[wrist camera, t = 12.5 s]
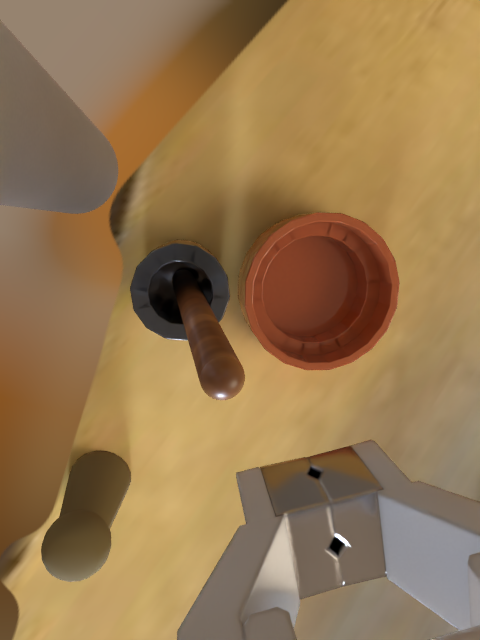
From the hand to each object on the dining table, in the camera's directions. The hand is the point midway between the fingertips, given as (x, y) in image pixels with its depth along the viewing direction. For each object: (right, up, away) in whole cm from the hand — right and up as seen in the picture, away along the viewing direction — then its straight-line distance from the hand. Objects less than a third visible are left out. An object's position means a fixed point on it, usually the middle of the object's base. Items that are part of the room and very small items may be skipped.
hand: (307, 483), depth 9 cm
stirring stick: (-7, +7, +29) cm, 31 cm away
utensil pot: (-7, +8, +30) cm, 32 cm away
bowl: (+5, +7, +32) cm, 33 cm away
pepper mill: (-16, -12, +34) cm, 39 cm away
